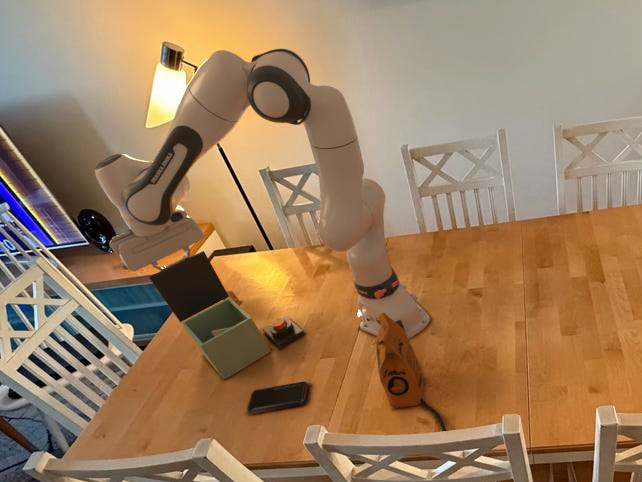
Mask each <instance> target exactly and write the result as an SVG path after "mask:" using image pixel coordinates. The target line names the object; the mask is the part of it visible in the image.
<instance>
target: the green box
mask: <svg viewBox="0 0 642 482" xmlns="http://www.w3.org/2000/svg"><path fill="white" fill-rule="evenodd" d="M180 324H181V326H182V327H183V328H184V330H185V331H186V332H187V334H188V335H189V337H190V338H191V339H192V342H194V344H195V346H197V348H198V349H199V351H200V352H201V354H202V355H203V356H204V358H205V359H206V360H207V361H208V362H209V364H210V365H211V366H212V367H213V368H214V369H215V371H216V372H217V374H219V376H220V377H221V378H222V379H223V380H227V379H228V378H229V377H231V376H233V375H235V374H236V373H238V372H239V371H241V370H243V369H245V368H247V367H248V366H249V365H251V364H253V363H254V362H256V361H258V360H260V359H261V358H264V357H265V356H266V355H268V354H269V353H271V352H272V351H271V348H270V347H269V346H268V344H267V342H266V340H265V339H264V336H263V335H262V333H261V331H260V330H259V328H258V327H257V324H256V323H255V321H254V319H253V317H251V316H250V315H249V314H248V313H247V312H246V311H245V310H244V309H243V308H242V307H241V306H240V307H239V306H238V305H237V304H236V303H235V302H234V301H233V300H232V299H231V298H230V297H229V298H227V299H225V300H222V301H220V302H218V303H216V304H214V305H212V306H210V307H209V308H207V309H205V310H203V311H201V312H199V313H197V314H195V315H193V316H192V317H190V318H188V319H186V320H184V321H182V322H180ZM229 327H231V328H230V329H228V330H226V331H224V332H222V333H221V334H219V335H217V336H215V337H213V336H212V334H211V331H213V330H219V329H224V328H229Z"/></svg>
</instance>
